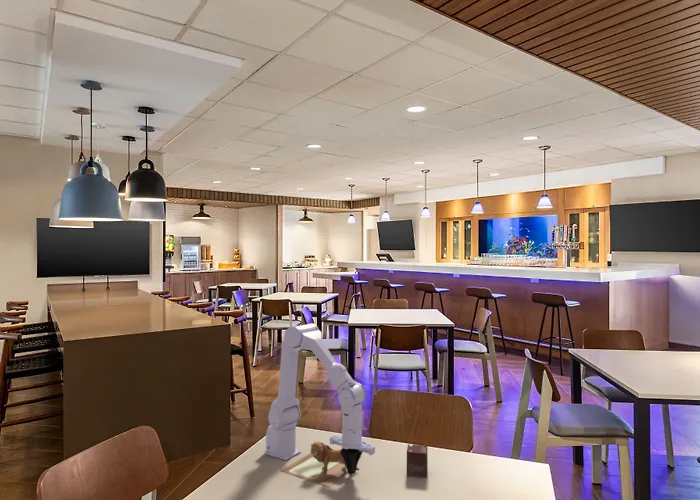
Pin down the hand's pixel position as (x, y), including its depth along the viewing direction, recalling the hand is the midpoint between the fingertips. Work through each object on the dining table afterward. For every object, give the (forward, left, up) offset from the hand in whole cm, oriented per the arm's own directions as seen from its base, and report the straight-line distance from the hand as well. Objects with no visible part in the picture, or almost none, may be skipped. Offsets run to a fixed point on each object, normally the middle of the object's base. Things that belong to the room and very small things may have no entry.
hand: (351, 473), depth 140 cm
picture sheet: (-12, -1, -2) cm, 12 cm away
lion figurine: (-7, 0, -2) cm, 7 cm away
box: (+14, +14, -2) cm, 20 cm away
